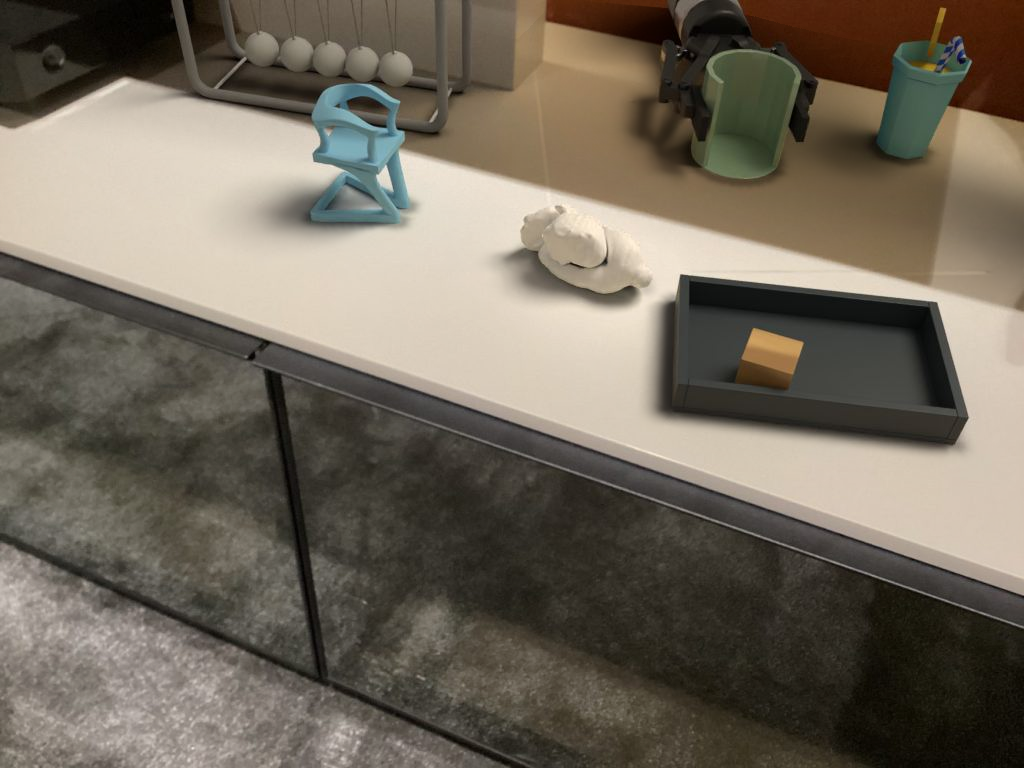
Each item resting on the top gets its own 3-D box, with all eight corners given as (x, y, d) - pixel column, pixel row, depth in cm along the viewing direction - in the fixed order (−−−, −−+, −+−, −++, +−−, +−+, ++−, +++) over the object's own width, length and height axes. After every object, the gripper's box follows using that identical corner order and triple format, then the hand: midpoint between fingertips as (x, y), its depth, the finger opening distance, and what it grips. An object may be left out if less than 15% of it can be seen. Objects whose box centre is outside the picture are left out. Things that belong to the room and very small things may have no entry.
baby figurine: (662, 303, 85) (631, 262, 78) (538, 317, 90) (498, 280, 83) (664, 216, 88) (634, 169, 81) (543, 234, 93) (505, 191, 86)
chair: (390, 237, 90) (382, 122, 82) (309, 220, 92) (292, 106, 83) (419, 194, 96) (414, 81, 87) (342, 178, 97) (330, 66, 89)
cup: (951, 193, 99) (1009, 54, 88) (874, 186, 99) (922, 47, 88) (925, 124, 108) (974, -8, 98) (856, 118, 109) (897, -14, 98)
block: (793, 374, 72) (804, 342, 75) (740, 358, 73) (753, 327, 76) (781, 411, 75) (791, 378, 78) (730, 395, 76) (743, 364, 79)
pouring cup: (684, 135, 105) (699, 48, 98) (767, 136, 105) (788, 49, 98) (698, 182, 99) (716, 93, 91) (786, 183, 99) (811, 94, 92)
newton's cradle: (190, 97, 108) (153, -68, 96) (231, 56, 115) (202, -103, 103) (446, 137, 103) (443, -30, 91) (473, 92, 111) (473, -69, 98)
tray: (925, 329, 83) (937, 301, 81) (954, 445, 74) (969, 417, 71) (674, 301, 85) (680, 273, 83) (671, 411, 75) (677, 383, 73)
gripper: (798, 61, 114) (852, 163, 98) (614, 59, 113) (638, 162, 97) (814, -2, 109) (873, 95, 93) (621, -5, 108) (648, 93, 92)
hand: (753, 129), depth 95 cm, fingers closed on pouring cup, 9 cm apart
